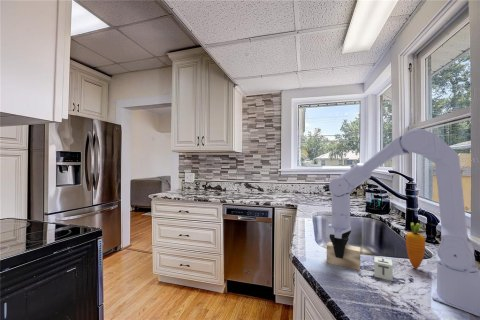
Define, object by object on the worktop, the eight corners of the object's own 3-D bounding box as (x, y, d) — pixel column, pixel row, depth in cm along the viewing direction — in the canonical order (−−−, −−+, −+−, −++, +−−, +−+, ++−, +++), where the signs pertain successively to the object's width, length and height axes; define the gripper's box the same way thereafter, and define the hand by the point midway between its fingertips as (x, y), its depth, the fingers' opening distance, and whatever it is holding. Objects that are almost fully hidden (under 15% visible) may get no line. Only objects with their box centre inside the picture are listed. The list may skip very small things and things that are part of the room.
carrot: (406, 263, 75) (406, 219, 75) (425, 268, 71) (425, 222, 72) (405, 269, 71) (405, 222, 71) (425, 274, 68) (425, 225, 68)
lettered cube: (391, 274, 68) (391, 259, 68) (392, 281, 64) (392, 265, 64) (374, 270, 70) (374, 255, 70) (374, 277, 66) (374, 261, 66)
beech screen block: (360, 265, 73) (360, 247, 74) (359, 270, 70) (359, 251, 70) (328, 258, 79) (328, 241, 79) (326, 262, 75) (326, 245, 75)
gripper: (331, 208, 83) (331, 244, 83) (324, 216, 71) (324, 258, 71) (352, 210, 80) (352, 248, 79) (348, 219, 67) (348, 264, 67)
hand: (340, 253), depth 75 cm, fingers open, 7 cm apart
